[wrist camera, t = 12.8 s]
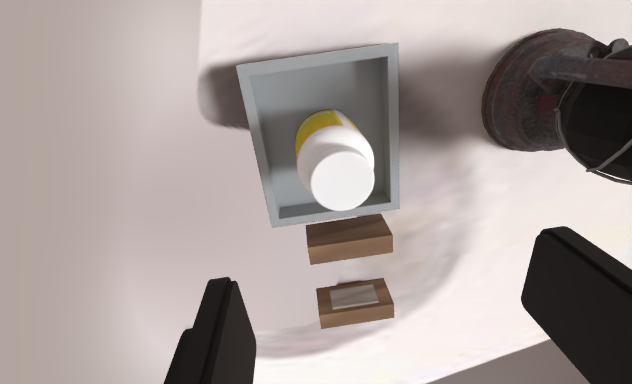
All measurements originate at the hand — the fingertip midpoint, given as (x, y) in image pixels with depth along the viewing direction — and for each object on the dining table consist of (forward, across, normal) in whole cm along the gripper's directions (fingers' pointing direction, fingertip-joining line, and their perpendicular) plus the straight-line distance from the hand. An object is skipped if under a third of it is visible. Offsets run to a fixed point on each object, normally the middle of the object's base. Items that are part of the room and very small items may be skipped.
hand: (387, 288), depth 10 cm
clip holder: (+20, -1, +16) cm, 25 cm away
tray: (+20, 0, +1) cm, 20 cm away
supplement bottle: (+19, 0, +1) cm, 19 cm away
